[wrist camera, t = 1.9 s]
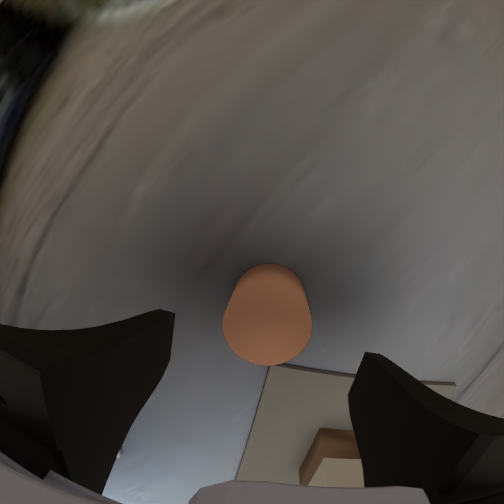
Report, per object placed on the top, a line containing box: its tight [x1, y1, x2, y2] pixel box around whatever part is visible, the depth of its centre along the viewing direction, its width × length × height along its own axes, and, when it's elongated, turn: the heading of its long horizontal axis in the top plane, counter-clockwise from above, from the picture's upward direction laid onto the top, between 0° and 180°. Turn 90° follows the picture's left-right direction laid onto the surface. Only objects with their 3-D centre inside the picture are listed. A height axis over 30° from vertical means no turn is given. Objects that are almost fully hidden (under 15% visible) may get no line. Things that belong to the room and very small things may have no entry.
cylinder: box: [222, 263, 312, 366], centre depth 16 cm, size 4×4×4 cm
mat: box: [235, 364, 457, 485], centre depth 19 cm, size 14×14×1 cm
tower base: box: [299, 428, 361, 486], centre depth 18 cm, size 5×5×3 cm
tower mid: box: [308, 458, 364, 488], centre depth 15 cm, size 5×5×3 cm
